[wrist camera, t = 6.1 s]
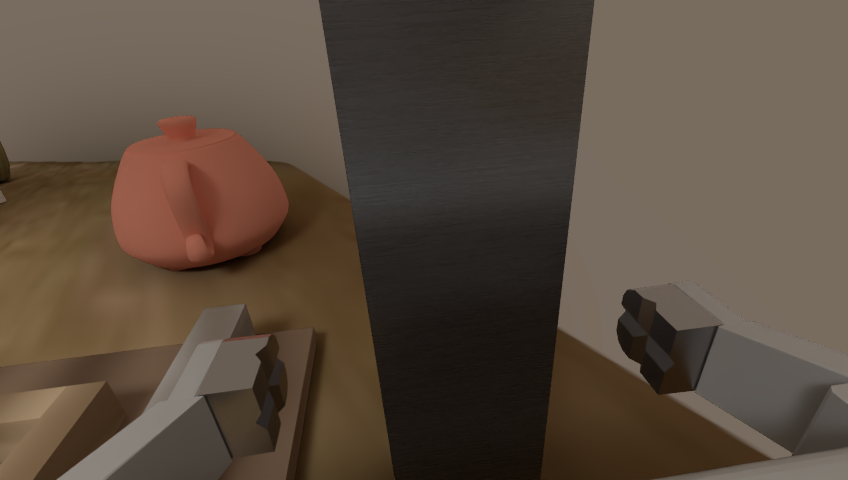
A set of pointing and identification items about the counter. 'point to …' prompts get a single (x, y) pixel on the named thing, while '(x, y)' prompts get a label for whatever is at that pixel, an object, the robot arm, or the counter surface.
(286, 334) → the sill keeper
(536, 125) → the bar
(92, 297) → the counter surface
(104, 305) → the counter surface
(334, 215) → the counter surface
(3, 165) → the fennel bulb
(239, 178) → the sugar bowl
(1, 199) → the milk
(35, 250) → the counter surface
